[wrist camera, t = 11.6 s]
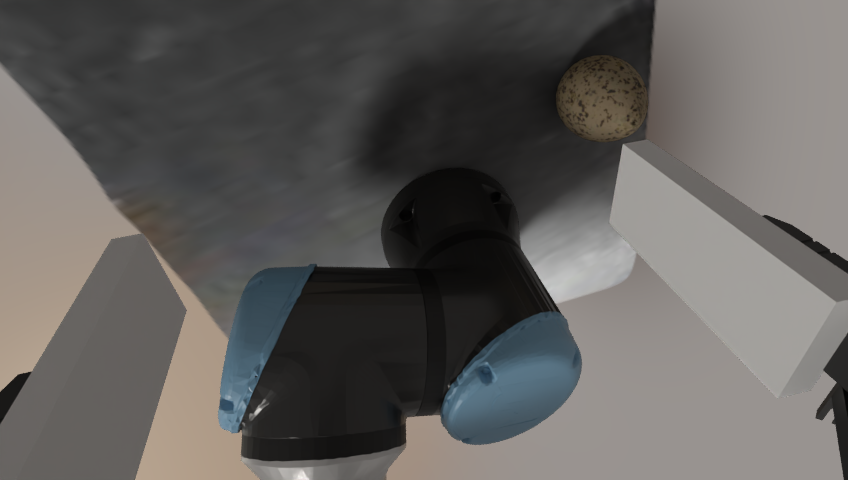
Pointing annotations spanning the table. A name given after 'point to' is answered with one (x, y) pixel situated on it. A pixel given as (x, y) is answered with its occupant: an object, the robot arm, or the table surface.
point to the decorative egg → (602, 99)
